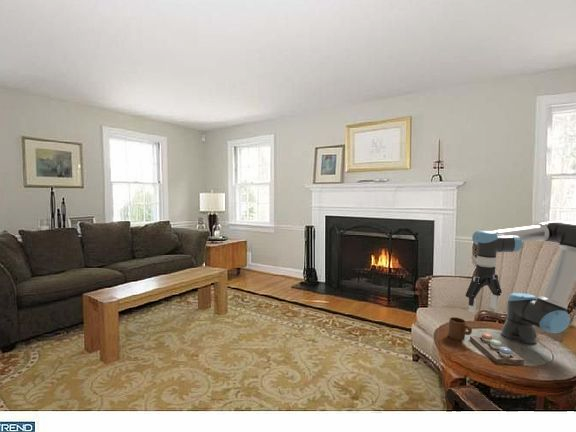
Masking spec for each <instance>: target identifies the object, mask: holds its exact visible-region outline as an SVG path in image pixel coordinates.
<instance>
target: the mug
mask: <svg viewBox="0 0 576 432" xmlns="http://www.w3.org/2000/svg"><path fill="white" fill-rule="evenodd" d="M466 329H467V330H466ZM472 332H473V329H472V327H471V326H470V325H468V324H467V322H466V320H465V319H463V318H460V317H455V316H453V317H450V318H449V323H448V334H447V335H448V337H449V338H450V339H452V340H454V341H460V342H461V341H464V340H465V337H466V336H471V334H472Z"/></svg>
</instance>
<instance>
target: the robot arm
mask: <svg viewBox="0 0 576 432" xmlns="http://www.w3.org/2000/svg"><path fill="white" fill-rule="evenodd" d="M471 238H472V239H471V240H472V242H473V244H474V245H477V247H476V248H477V249H476V266H475V267H476V268H475V273H476V274H477V276H474V275H472V277H471V281H470V283H469V286H468V288H467V290H466V293H465V295H464V296H465V297H467V298H468V312H469V313H473V314H476V307H477V306H476V305H477V303H476V302H477V299H476V298H477V296H478V294H479V292H480V291H481V289H482V288H484V287H485V286H487V287H488V289H489V290H490V292H491V293H490V301H489V308H490V309H493V310H497V309H498V308H497V306H498V298H499V297H500V296H501V294H502V289H501V285H500V281H499V275H498V274H496V266H497V253H514V252H515V253H516V252H520V251H521V249H522V248H523V243H527V242H535V241H537V242H542V243H543V242H549V243H557V244H558V247H559V249H560V252H559V254H558V257H557V260H556V262H555V264H554V266H553V270H552V272H551V275H550V276H549V280H548V281H547V284H546V287H545V288H544V292H543V294H542V295H541V296H536V295H534V294H530V293H521V292H512V293H510V294H509V295H508V299H507V307H506V311H507V312H506V320H505V322H504V324H503V326H502V327H501V333H500V334H501V335H502V336H503V337H504V336H505V339H506V338H507V339H508V340H511V341H514V342H516V343H521V344H530V345H531V344H535V343H537V342H538V338H537V337H538V336H537V333H536V329H535V327H537V328H540V329H541V330H543V331H545V332H548V333H552V334H558V333H561V332H564V331H565V330H566V329H567V328H568V327H569V325H570V322H571V317H570V314H569V313H568V312H567V311H568V307H567V305H566V302H567V300H568V298H569V296H570V292H571V289H572V288H573V285H574V282H575V280H576V221H572V220H571V221H570V220H562V219H561V220H552V221H551V220H550V221H543V222H536V223H534V224H533V225H528V226H520V227H513V228H504V229H497V230H496V229H495V230H475V231H474V232H473V233H472V236H471Z"/></svg>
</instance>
